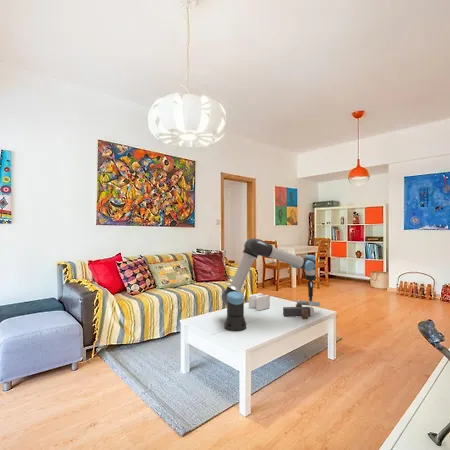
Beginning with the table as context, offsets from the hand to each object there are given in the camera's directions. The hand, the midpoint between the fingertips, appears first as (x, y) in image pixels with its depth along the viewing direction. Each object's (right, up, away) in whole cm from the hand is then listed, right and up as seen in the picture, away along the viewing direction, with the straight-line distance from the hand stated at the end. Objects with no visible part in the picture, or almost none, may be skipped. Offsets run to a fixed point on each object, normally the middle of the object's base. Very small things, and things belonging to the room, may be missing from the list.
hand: (310, 304), depth 224 cm
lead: (-10, -8, -2) cm, 13 cm away
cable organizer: (-39, -8, +16) cm, 43 cm away
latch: (-1, -1, +3) cm, 3 cm away
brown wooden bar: (-8, -8, -2) cm, 11 cm away
